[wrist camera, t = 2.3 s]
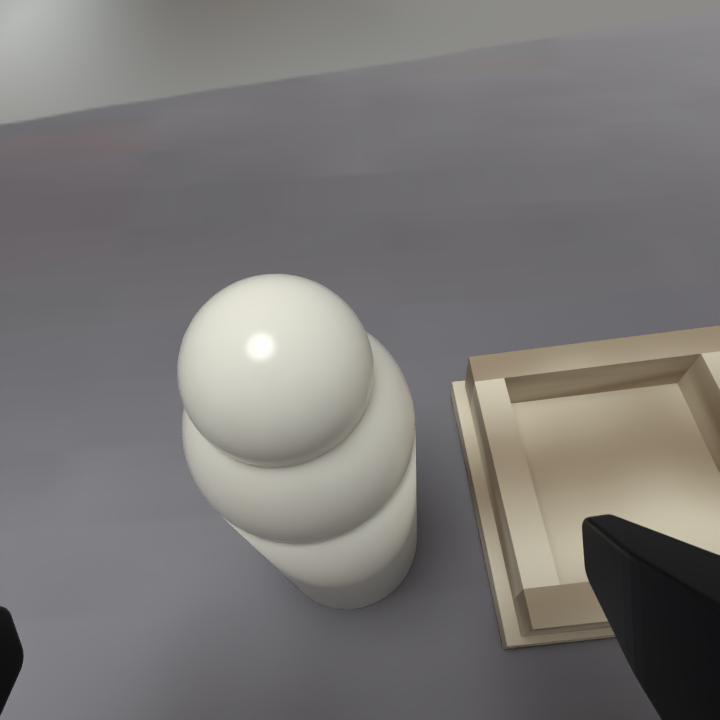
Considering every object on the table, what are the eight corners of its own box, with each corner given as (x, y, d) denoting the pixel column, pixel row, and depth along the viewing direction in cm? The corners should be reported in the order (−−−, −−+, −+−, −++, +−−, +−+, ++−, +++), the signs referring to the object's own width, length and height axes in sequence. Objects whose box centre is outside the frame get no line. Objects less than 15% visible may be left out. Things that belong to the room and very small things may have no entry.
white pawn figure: (427, 600, 18) (438, 439, 7) (281, 617, 18) (66, 484, 7) (407, 462, 20) (392, 185, 9) (280, 477, 20) (121, 222, 10)
